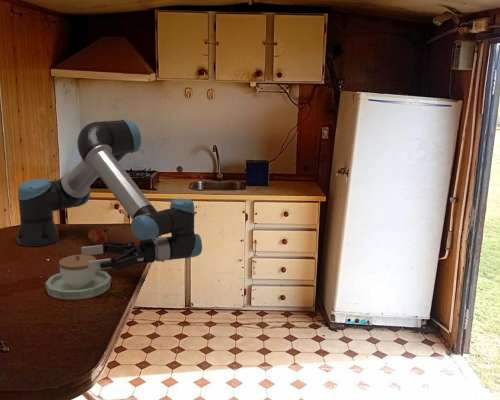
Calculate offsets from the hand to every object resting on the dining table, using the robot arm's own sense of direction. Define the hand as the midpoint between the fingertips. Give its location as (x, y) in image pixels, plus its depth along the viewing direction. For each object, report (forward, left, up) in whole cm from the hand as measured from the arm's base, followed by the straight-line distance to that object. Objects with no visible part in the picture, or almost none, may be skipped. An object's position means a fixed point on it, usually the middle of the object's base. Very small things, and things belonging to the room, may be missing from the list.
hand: (84, 258), depth 159 cm
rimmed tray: (0, -2, -9) cm, 10 cm away
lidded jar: (0, -2, -8) cm, 9 cm away
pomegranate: (-39, -6, -9) cm, 40 cm away
